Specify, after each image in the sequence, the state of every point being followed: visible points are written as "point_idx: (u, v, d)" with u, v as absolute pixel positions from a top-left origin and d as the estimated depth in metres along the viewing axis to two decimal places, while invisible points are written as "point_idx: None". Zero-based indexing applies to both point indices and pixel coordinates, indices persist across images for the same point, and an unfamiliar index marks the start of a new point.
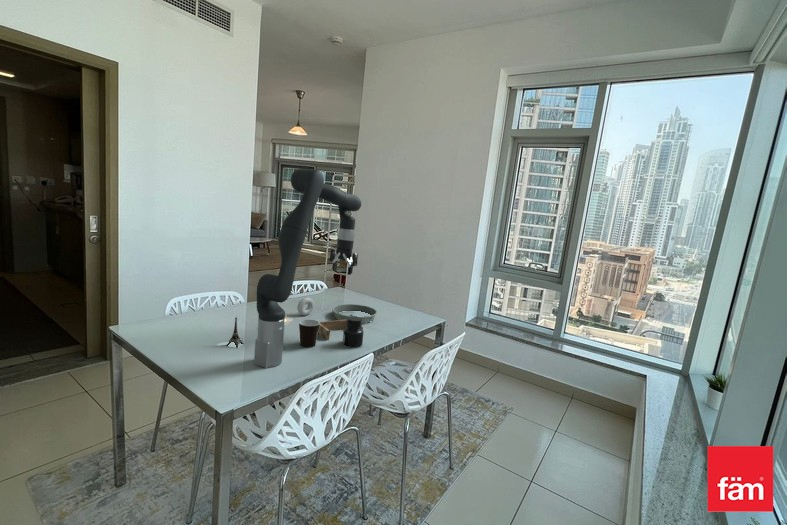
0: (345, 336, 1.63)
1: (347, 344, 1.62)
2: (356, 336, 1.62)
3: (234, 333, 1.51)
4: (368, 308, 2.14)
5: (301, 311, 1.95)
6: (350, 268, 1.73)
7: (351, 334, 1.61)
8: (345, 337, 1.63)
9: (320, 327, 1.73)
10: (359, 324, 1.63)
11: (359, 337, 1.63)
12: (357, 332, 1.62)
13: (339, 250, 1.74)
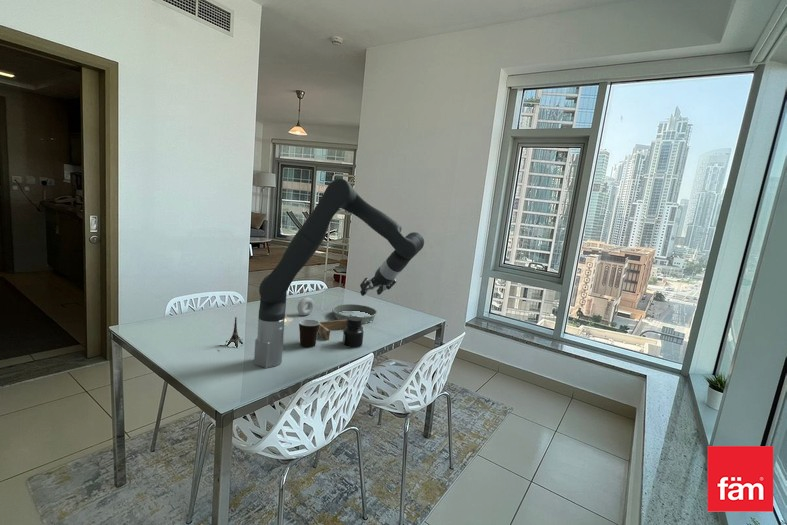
0: (345, 336, 1.63)
1: (347, 344, 1.62)
2: (356, 336, 1.62)
3: (234, 333, 1.51)
4: (368, 308, 2.14)
5: (301, 311, 1.95)
6: None
7: (351, 334, 1.61)
8: (345, 337, 1.63)
9: (320, 327, 1.73)
10: (359, 324, 1.63)
11: (359, 337, 1.63)
12: (357, 332, 1.62)
13: None
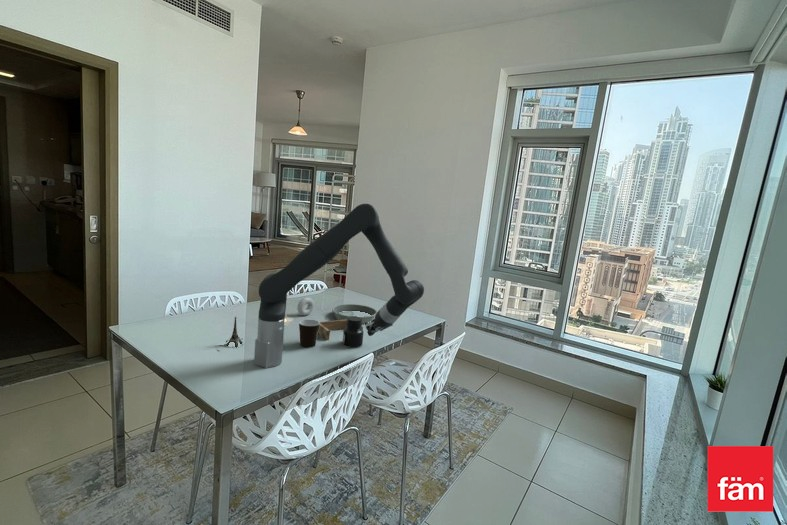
0: (345, 336, 1.63)
1: (347, 344, 1.62)
2: (356, 336, 1.62)
3: (233, 333, 1.51)
4: (368, 308, 2.14)
5: (301, 311, 1.95)
6: None
7: (351, 334, 1.61)
8: (345, 337, 1.63)
9: (320, 327, 1.73)
10: (359, 324, 1.63)
11: (359, 337, 1.63)
12: (357, 332, 1.62)
13: None
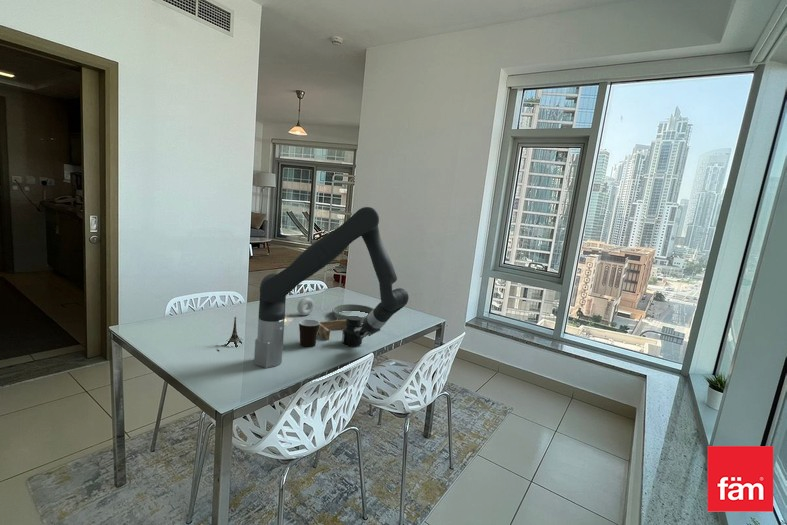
0: (344, 335, 1.63)
1: (346, 343, 1.63)
2: None
3: (233, 333, 1.51)
4: (368, 308, 2.14)
5: (301, 311, 1.95)
6: None
7: (351, 333, 1.62)
8: (344, 336, 1.63)
9: (320, 327, 1.73)
10: (358, 323, 1.63)
11: None
12: None
13: None
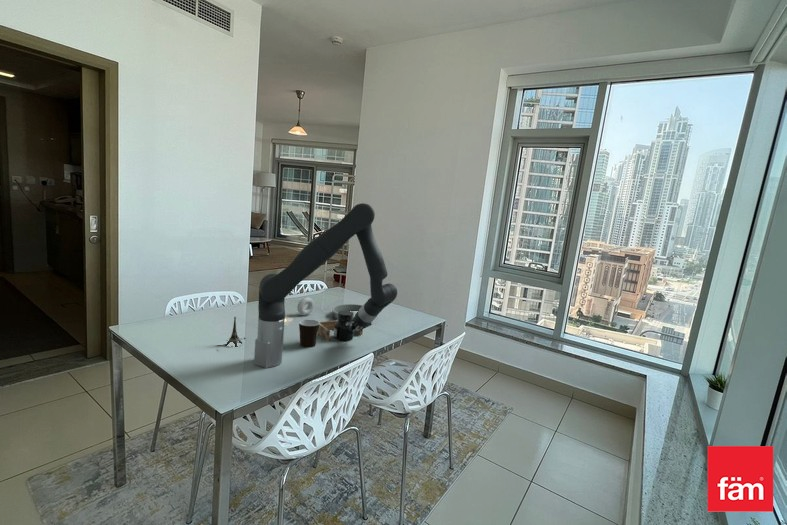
0: (337, 330, 1.69)
1: (339, 338, 1.69)
2: (348, 330, 1.69)
3: (233, 333, 1.51)
4: None
5: (301, 311, 1.95)
6: None
7: (344, 328, 1.68)
8: (337, 331, 1.69)
9: (320, 327, 1.73)
10: (350, 318, 1.70)
11: None
12: None
13: None
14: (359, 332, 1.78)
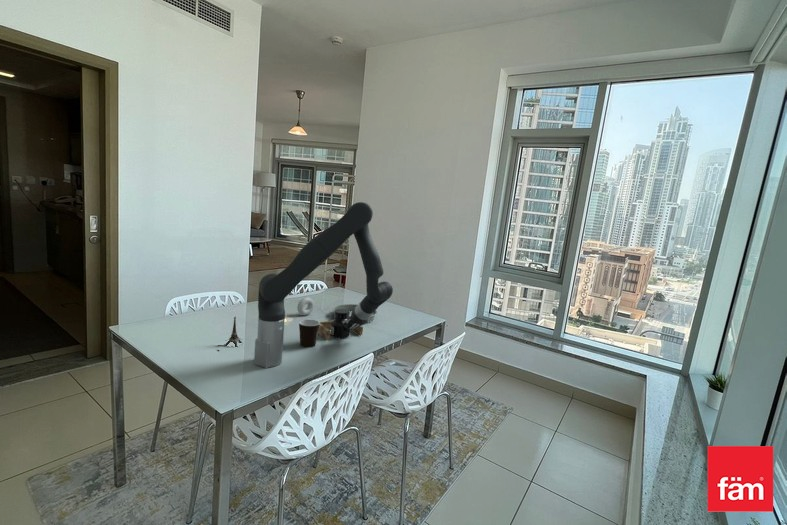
0: (334, 328, 1.71)
1: (337, 336, 1.71)
2: None
3: (233, 333, 1.51)
4: None
5: (301, 311, 1.95)
6: None
7: (341, 325, 1.70)
8: (334, 329, 1.71)
9: (320, 327, 1.73)
10: (347, 316, 1.72)
11: None
12: None
13: None
14: (359, 332, 1.78)
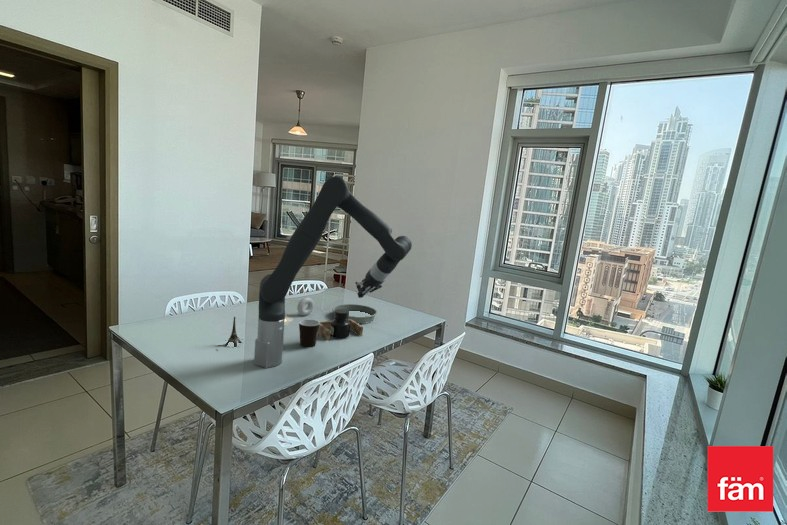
0: (334, 328, 1.71)
1: (336, 336, 1.71)
2: (345, 328, 1.71)
3: (232, 333, 1.51)
4: (368, 308, 2.14)
5: (301, 311, 1.95)
6: None
7: (341, 326, 1.70)
8: (334, 329, 1.71)
9: (320, 327, 1.73)
10: (347, 316, 1.72)
11: (347, 328, 1.72)
12: (346, 324, 1.72)
13: None
14: (359, 332, 1.78)
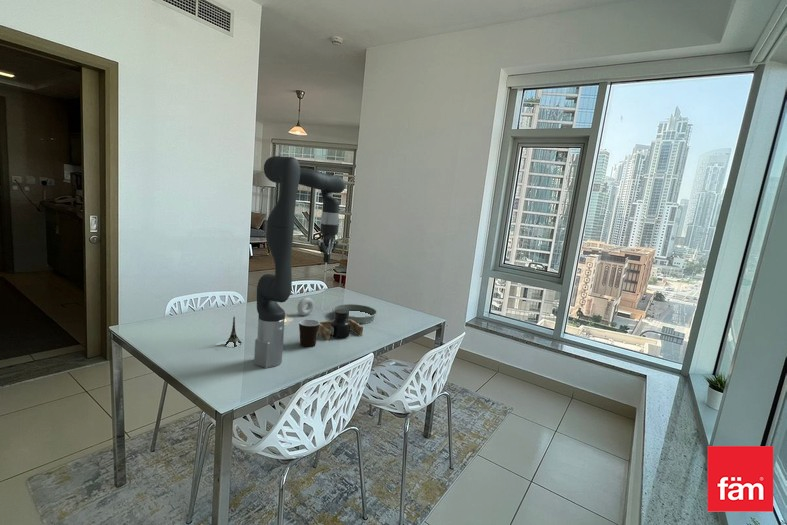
0: (334, 328, 1.71)
1: (336, 336, 1.71)
2: (345, 328, 1.71)
3: (232, 333, 1.51)
4: (368, 308, 2.14)
5: (301, 311, 1.95)
6: (324, 255, 1.63)
7: (341, 326, 1.70)
8: (334, 329, 1.71)
9: (320, 327, 1.73)
10: (347, 316, 1.72)
11: (347, 328, 1.72)
12: (346, 324, 1.72)
13: None
14: (359, 332, 1.78)
